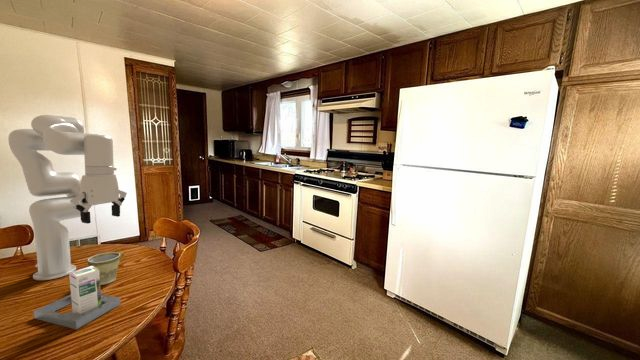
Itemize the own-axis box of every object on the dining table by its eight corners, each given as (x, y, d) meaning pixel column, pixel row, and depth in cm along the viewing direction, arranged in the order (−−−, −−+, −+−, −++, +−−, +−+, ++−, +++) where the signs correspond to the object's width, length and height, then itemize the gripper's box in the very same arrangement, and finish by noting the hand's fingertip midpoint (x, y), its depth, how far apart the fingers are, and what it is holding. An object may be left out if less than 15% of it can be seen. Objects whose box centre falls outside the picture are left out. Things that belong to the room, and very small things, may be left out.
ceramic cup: (103, 289, 97) (101, 263, 96) (82, 285, 99) (80, 260, 98) (134, 273, 110) (133, 250, 109) (114, 270, 112) (113, 248, 111)
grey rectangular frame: (34, 318, 80) (33, 310, 80) (81, 296, 92) (81, 289, 92) (76, 329, 76) (76, 321, 75) (120, 304, 88) (120, 297, 88)
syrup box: (79, 321, 79) (76, 276, 78) (72, 314, 82) (68, 271, 81) (102, 311, 84) (99, 269, 83) (94, 305, 87) (91, 264, 86)
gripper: (117, 168, 98) (118, 212, 100) (61, 171, 82) (64, 224, 84) (132, 170, 96) (133, 215, 98) (78, 173, 80) (80, 227, 82)
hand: (101, 219), depth 91 cm, fingers open, 9 cm apart
